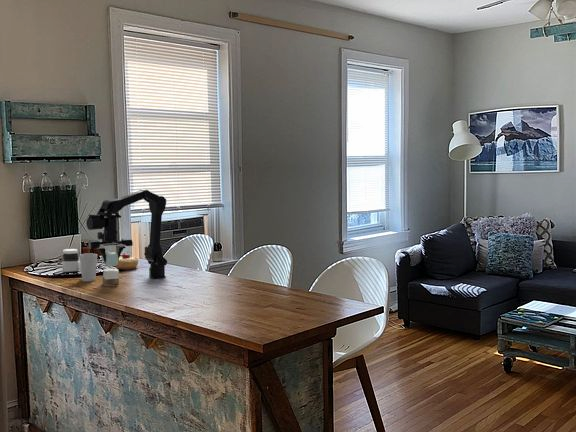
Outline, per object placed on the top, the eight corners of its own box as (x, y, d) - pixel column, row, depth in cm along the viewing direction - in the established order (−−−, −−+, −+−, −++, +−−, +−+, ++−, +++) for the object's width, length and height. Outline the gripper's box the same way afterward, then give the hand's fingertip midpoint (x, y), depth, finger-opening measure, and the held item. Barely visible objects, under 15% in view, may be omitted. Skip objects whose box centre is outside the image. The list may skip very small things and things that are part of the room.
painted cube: (115, 262, 285) (115, 252, 285) (118, 264, 281) (117, 254, 281) (104, 263, 283) (104, 252, 282) (106, 265, 279) (106, 254, 278)
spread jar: (61, 271, 309) (61, 248, 308) (85, 270, 314) (84, 247, 312) (63, 276, 298) (63, 252, 297) (88, 274, 303) (87, 251, 302)
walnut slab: (115, 283, 287) (115, 275, 287) (118, 286, 282) (118, 278, 282) (102, 284, 284) (102, 276, 284) (105, 287, 279) (105, 279, 279)
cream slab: (116, 275, 287) (116, 268, 286) (119, 278, 282) (118, 270, 281) (103, 276, 284) (103, 269, 284) (105, 279, 279) (105, 271, 279)
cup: (86, 282, 286) (86, 257, 285) (76, 280, 291) (75, 254, 290) (101, 279, 293) (100, 254, 291) (90, 277, 297) (90, 252, 296)
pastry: (109, 269, 316) (109, 252, 315) (122, 265, 328) (122, 248, 327) (130, 271, 313) (130, 254, 312) (142, 267, 324) (142, 250, 323)
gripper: (126, 224, 292) (126, 257, 294) (85, 226, 283) (86, 260, 284) (132, 227, 282) (133, 261, 284) (90, 230, 273) (91, 264, 275)
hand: (111, 262), depth 282 cm, fingers closed on painted cube, 5 cm apart
